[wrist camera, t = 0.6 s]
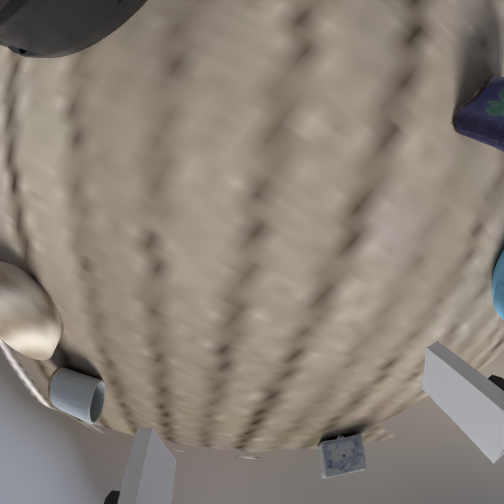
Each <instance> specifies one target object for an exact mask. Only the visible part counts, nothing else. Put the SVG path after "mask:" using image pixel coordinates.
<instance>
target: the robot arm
mask: <svg viewBox="0 0 504 504" xmlns="http://www.w3.org/2000/svg"><path fill="white" fill-rule="evenodd" d="M146 1H147V0H0V45H2V46H5V47H8V48H9V49H10V50H12V51H13V52H15V53H17V54H19V55H21V56H25V57H31V58H56V57H62V56H67V55H70V54H73V53H76V52H79V51H81V50H83V49H85V48H87V47H90V46H91V45H93V44H95V43H97V42H98V41H100V40H102V39H103V38H105V37H106V36H108V35H109V34H111V33H112V32H113V31H115V30H116V29H117V28H119V27H120V26H121V25H122V24H123V23H125V22H126V21H127V20H128V19H129V18H130V17H131V16H133V15H134V14H135V13H136V12H137V11H138V10H139V9H140V8H141V7H142V5H143V4H144V3H145V2H146ZM422 389H423V390H424V391H425V392H426V393H427V394H428V395H429V396H430V397H431V398H432V399H433V400H434V401H435V402H436V403H437V404H438V405H439V406H440V407H441V408H442V409H443V410H444V411H445V412H446V413H447V415H449V417H450V418H451V419H452V420H453V421H454V422H455V423H456V424H457V425H458V426H459V427H460V428H461V429H462V430H463V431H464V432H465V433H466V434H467V435H468V437H470V439H471V440H472V441H473V442H474V443H475V444H476V445H477V446H478V447H479V448H480V449H481V450H482V452H483V453H484V454H485V455H486V456H487V457H488V458H489V459H490V460H491V461H492V462H493V463H494V462H496V461H497V460H498V459H499V458H500V457H501V456H502V455H503V454H504V379H503V378H501V377H498V376H494V375H491V376H490V377H489V378H488V379H487V378H486V377H485V376H483V375H482V374H481V373H480V372H478V371H477V370H476V369H474V368H473V367H472V366H470V365H469V364H468V363H466V362H465V361H464V360H462V359H461V358H460V357H458V356H457V355H456V354H454V353H453V352H452V351H450V350H449V349H448V348H446V347H445V346H443V345H442V344H441V343H439V342H438V341H437V342H436V343H434V344H432V345H430V346H428V347H426V357H425V367H424V375H423V382H422ZM175 467H176V460H175V458H174V457H173V456H172V454H171V453H170V452H169V450H168V449H167V447H166V446H165V445H164V443H163V442H162V440H161V439H160V437H159V436H158V435H157V433H156V432H155V430H154V429H153V427H148V428H138V430H137V433H136V437H135V440H134V444H133V448H132V451H131V454H130V458H129V461H128V465H127V469H126V472H125V476H124V480H123V484H122V487H121V491H111V492H110V493H109V495H108V496H107V497H106V499H105V502H104V504H172V495H173V485H174V476H175Z"/></svg>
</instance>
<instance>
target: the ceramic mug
mask: <svg viewBox="0 0 504 504" xmlns="http://www.w3.org/2000/svg"><path fill="white" fill-rule="evenodd" d="M48 397H49V400H50V401H51V403H52V404H53V405H54V406H56V407H57V408H59V409H60V410H62V411H64V412H66V413H69V414H71V415H73V416H75V417H77V418H79V419H81V420H84V421H86V422H88V423H90V424H94V423H96V422H97V421H98V419H99V417H100V415H101V413H102V409H103V405H104V400H105V385H104V382H103V381H102V380H100V379H97V378H93V377H91V376H88V375H85V374H82V373H78V372H76V371H73V370H70V369H67V368H58V369H56V370H55V371H54V372H53V374H52V375H51V377H50V380H49V384H48Z"/></svg>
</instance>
